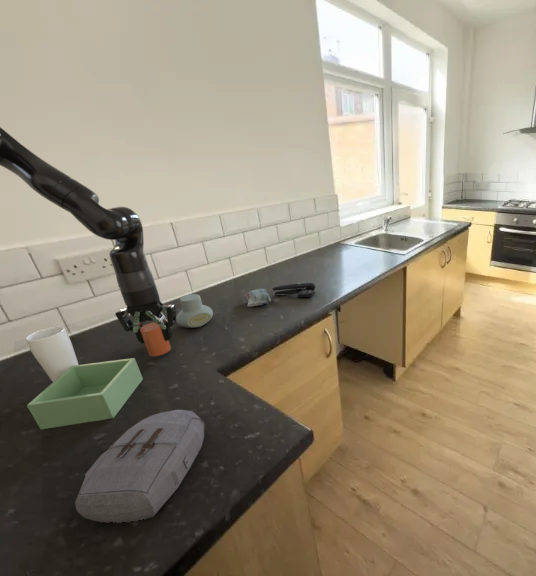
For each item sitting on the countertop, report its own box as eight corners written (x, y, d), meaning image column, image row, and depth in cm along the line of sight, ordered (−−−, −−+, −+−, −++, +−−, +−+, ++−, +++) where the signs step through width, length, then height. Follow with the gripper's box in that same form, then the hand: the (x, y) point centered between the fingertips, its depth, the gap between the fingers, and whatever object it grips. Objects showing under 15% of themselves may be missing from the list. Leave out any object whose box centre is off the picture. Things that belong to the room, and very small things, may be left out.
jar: (144, 357, 88) (135, 332, 85) (153, 347, 93) (145, 323, 90) (166, 355, 89) (158, 330, 86) (174, 344, 94) (166, 320, 91)
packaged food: (248, 311, 117) (246, 299, 115) (244, 300, 126) (241, 288, 125) (272, 306, 121) (270, 294, 119) (266, 295, 130) (264, 284, 128)
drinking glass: (92, 380, 82) (69, 330, 76) (58, 396, 77) (30, 343, 71) (82, 372, 85) (58, 323, 79) (48, 387, 80) (20, 336, 74)
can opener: (318, 292, 132) (317, 279, 130) (313, 299, 125) (311, 286, 123) (277, 291, 134) (275, 279, 131) (270, 298, 127) (268, 285, 125)
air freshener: (209, 314, 115) (202, 289, 112) (218, 321, 110) (211, 295, 106) (175, 325, 108) (167, 299, 104) (183, 334, 103) (175, 306, 99)
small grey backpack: (168, 525, 49) (223, 424, 67) (151, 488, 46) (214, 393, 64) (67, 531, 48) (150, 428, 67) (43, 494, 45) (137, 396, 64)
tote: (40, 429, 67) (26, 405, 65) (82, 387, 79) (71, 365, 77) (113, 418, 70) (102, 394, 67) (143, 379, 82) (134, 357, 79)
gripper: (173, 278, 88) (188, 331, 95) (114, 282, 86) (134, 337, 92) (161, 288, 82) (179, 344, 88) (97, 293, 79) (120, 351, 85)
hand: (156, 340), depth 90 cm, fingers closed on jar, 5 cm apart
